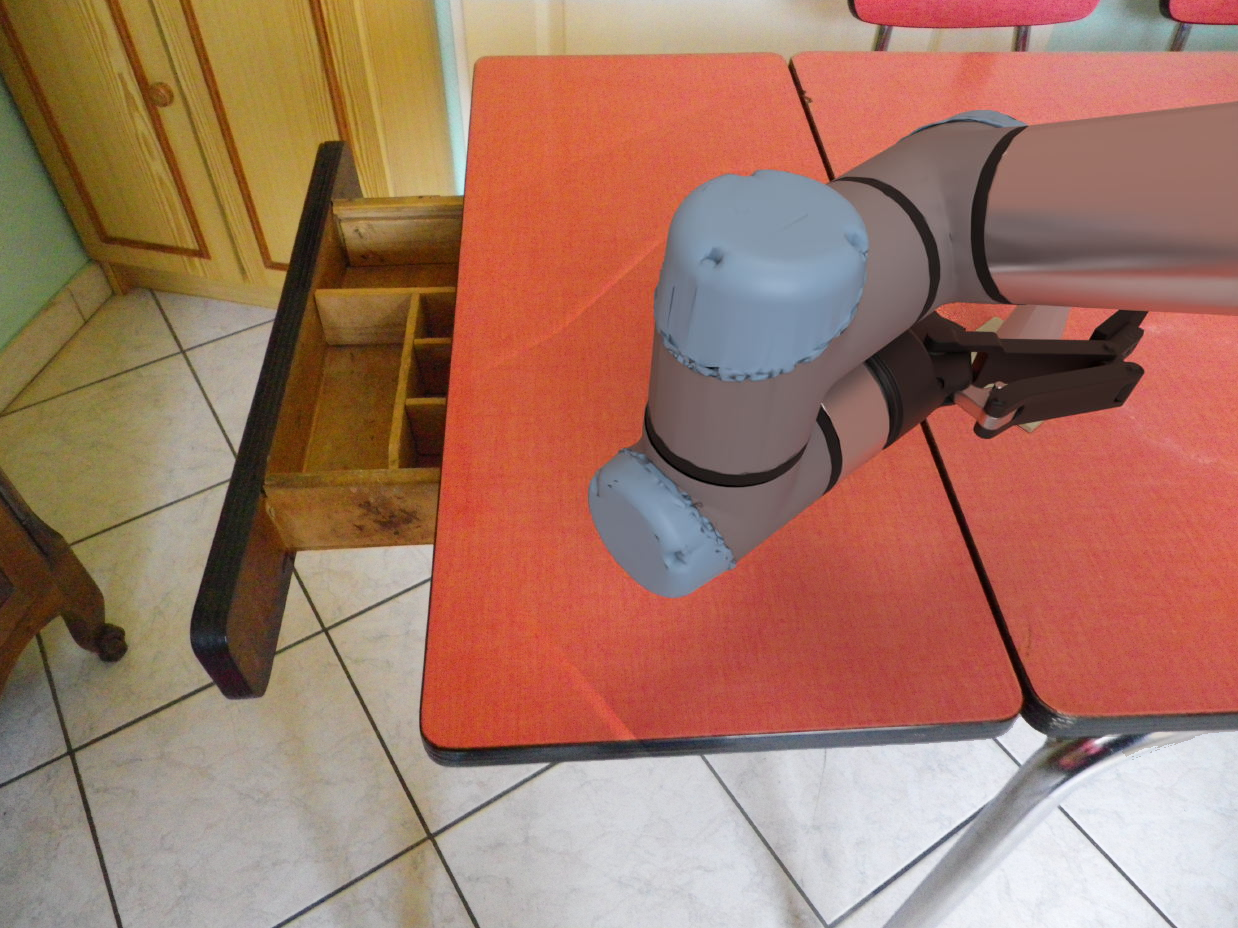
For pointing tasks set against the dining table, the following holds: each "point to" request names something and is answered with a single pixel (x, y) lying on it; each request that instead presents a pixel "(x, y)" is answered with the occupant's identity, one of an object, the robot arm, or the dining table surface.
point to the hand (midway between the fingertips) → (1047, 254)
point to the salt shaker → (1035, 322)
